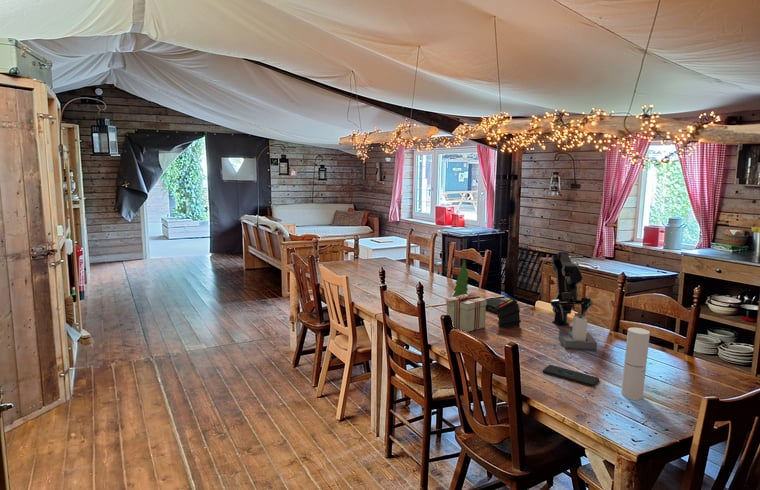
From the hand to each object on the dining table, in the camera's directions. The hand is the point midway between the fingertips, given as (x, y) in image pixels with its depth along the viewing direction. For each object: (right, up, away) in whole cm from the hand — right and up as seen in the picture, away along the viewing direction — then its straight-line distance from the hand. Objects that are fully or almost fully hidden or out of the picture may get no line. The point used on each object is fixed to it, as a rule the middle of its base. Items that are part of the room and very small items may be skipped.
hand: (572, 319), depth 245 cm
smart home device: (-17, -17, -43) cm, 49 cm away
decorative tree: (-47, -1, +47) cm, 67 cm away
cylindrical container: (0, -19, -59) cm, 62 cm away
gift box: (-51, -6, +17) cm, 54 cm away
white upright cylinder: (-1, -10, -9) cm, 14 cm away
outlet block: (0, -11, -7) cm, 13 cm away
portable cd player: (-24, -2, +51) cm, 57 cm away
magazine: (-27, -6, +18) cm, 33 cm away
